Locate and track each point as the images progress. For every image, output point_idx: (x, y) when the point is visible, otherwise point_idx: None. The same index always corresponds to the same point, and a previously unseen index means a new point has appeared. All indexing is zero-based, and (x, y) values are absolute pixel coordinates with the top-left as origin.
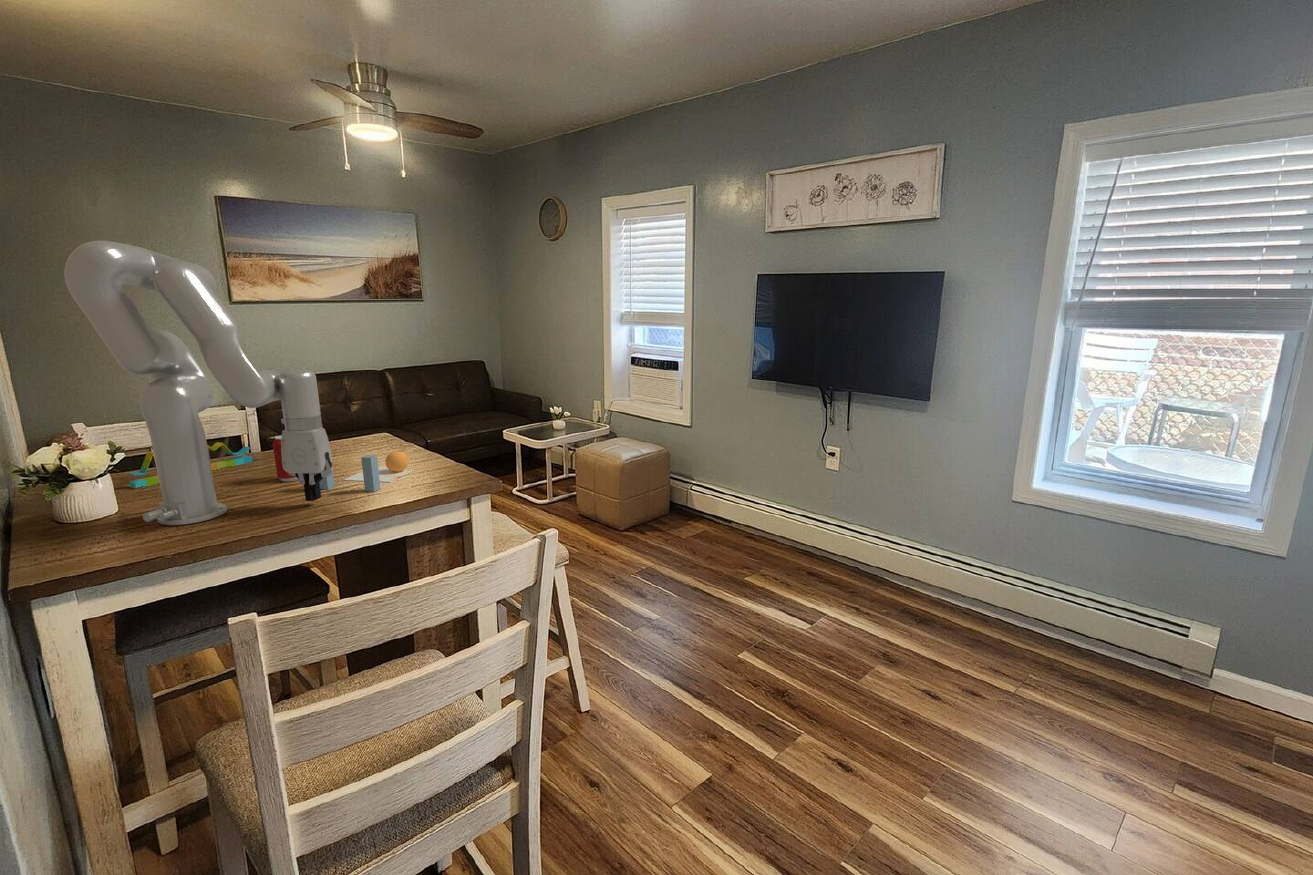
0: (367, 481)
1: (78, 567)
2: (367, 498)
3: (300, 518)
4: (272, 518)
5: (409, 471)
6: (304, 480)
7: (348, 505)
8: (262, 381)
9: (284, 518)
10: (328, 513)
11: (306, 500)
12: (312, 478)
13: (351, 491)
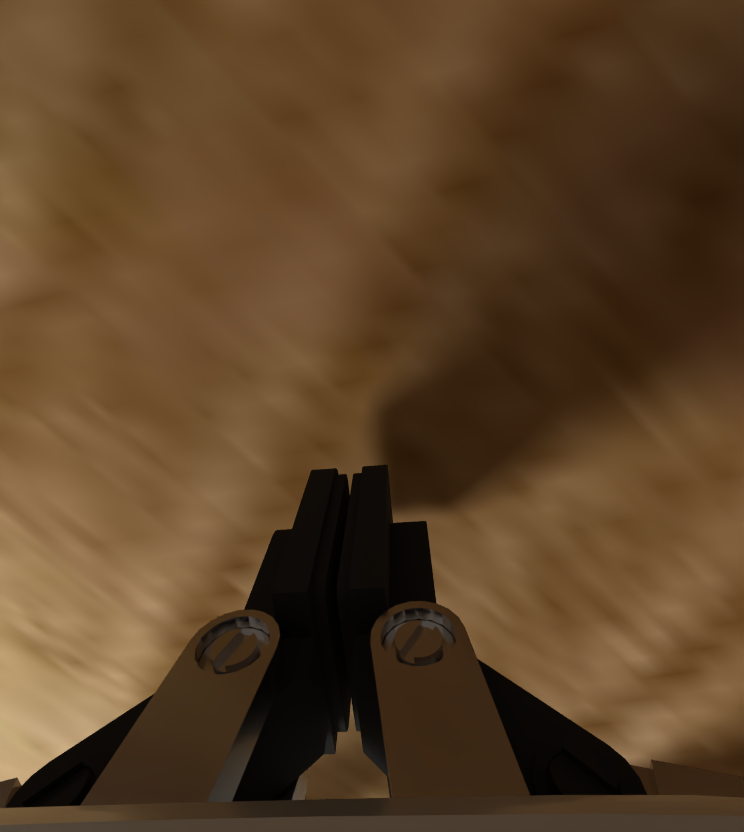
0: None
1: None
2: (85, 700)
3: (150, 115)
4: (474, 15)
5: None
6: (375, 671)
7: (67, 549)
8: None
9: (328, 60)
10: (24, 333)
11: (380, 466)
12: (165, 719)
13: (346, 792)
